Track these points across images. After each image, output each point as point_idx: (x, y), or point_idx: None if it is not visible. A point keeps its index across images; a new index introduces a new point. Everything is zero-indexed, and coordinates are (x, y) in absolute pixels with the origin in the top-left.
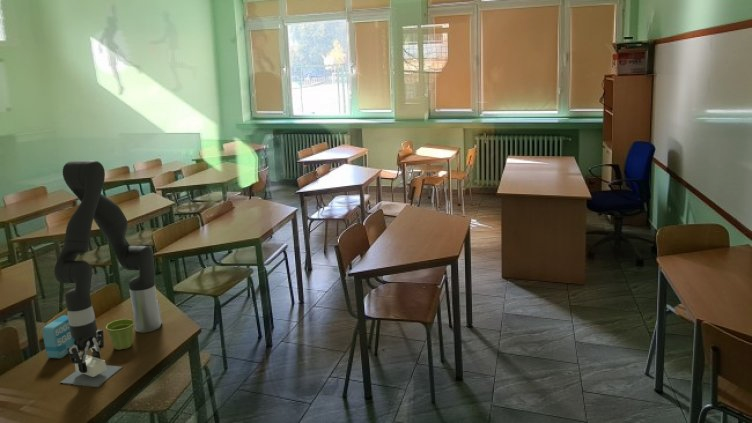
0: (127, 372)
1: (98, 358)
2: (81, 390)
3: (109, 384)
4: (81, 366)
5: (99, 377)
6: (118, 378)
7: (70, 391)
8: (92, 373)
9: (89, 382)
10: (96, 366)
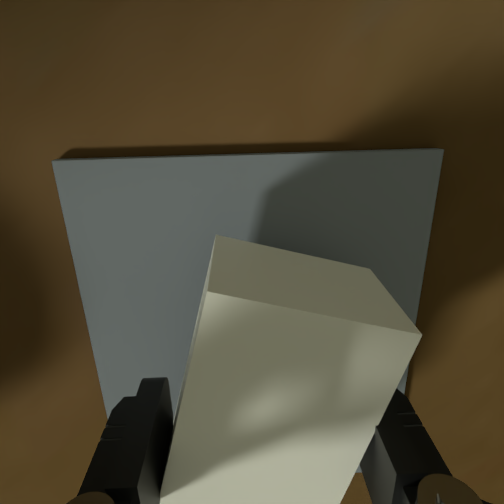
0: (115, 22)
1: (182, 408)
2: (485, 259)
3: (380, 58)
4: (432, 453)
5: (292, 246)
6: (254, 40)
7: (495, 331)
8: (383, 291)
9: (384, 273)
10: (346, 306)
